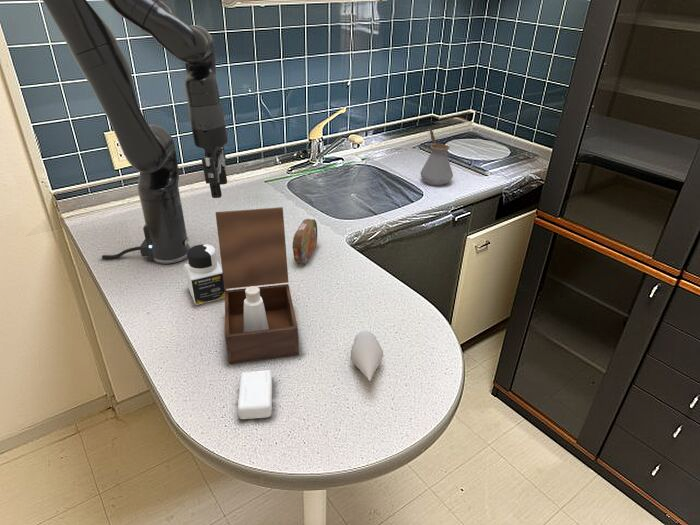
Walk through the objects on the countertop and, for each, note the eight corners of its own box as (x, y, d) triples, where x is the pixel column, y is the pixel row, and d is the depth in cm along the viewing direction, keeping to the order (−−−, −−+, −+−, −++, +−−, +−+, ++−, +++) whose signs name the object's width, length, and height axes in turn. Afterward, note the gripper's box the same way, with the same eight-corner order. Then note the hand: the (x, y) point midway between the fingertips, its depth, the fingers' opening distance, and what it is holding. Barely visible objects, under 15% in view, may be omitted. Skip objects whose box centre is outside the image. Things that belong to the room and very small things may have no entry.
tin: (303, 269, 124) (302, 240, 119) (291, 268, 124) (290, 238, 120) (318, 241, 136) (318, 214, 132) (307, 240, 137) (306, 213, 133)
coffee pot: (455, 187, 172) (461, 145, 164) (423, 188, 171) (427, 145, 164) (441, 166, 190) (445, 127, 183) (411, 166, 190) (415, 127, 182)
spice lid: (282, 207, 101) (282, 207, 102) (215, 212, 98) (215, 212, 99) (288, 282, 105) (288, 281, 106) (224, 289, 103) (224, 288, 103)
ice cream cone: (366, 401, 86) (362, 355, 100) (394, 383, 85) (386, 338, 99) (344, 379, 84) (343, 335, 98) (373, 359, 83) (367, 317, 97)
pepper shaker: (267, 343, 98) (263, 297, 93) (240, 342, 98) (235, 297, 93) (272, 326, 103) (268, 282, 97) (246, 325, 103) (241, 281, 97)
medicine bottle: (195, 306, 110) (187, 259, 104) (188, 289, 115) (180, 244, 109) (227, 298, 113) (221, 252, 106) (219, 282, 118) (212, 238, 112)
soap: (271, 418, 83) (270, 406, 81) (238, 421, 82) (236, 408, 81) (272, 380, 90) (271, 368, 89) (242, 382, 90) (240, 370, 88)
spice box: (299, 354, 97) (297, 327, 93) (229, 364, 94) (225, 336, 90) (289, 309, 109) (288, 283, 106) (228, 316, 107) (224, 290, 103)
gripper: (197, 116, 117) (210, 180, 126) (183, 133, 105) (198, 203, 113) (229, 114, 118) (239, 179, 126) (219, 131, 105) (231, 201, 114)
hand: (220, 190), depth 120 cm, fingers open, 8 cm apart
